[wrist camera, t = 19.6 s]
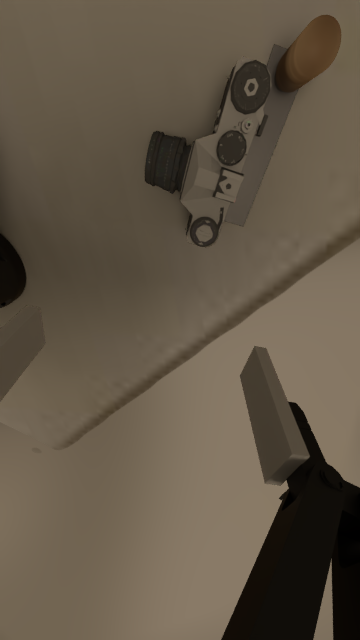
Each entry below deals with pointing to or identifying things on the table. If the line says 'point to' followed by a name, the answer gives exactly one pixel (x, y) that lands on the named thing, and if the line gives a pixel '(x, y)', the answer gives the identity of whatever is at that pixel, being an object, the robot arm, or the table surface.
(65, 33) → the table surface
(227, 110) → the camera
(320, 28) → the brown rounded cylinder
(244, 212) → the strip
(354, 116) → the table surface
